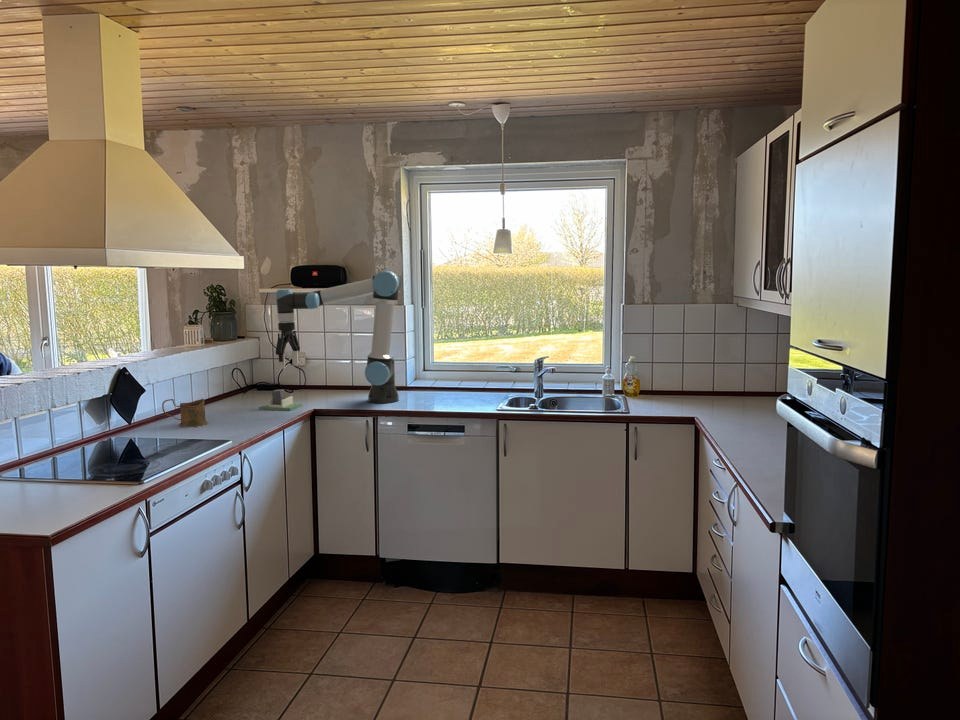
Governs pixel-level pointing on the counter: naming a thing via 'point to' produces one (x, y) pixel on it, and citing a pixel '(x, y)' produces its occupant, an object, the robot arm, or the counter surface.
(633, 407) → the counter surface
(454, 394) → the counter surface
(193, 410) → the mug
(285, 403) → the board
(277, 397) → the plug
